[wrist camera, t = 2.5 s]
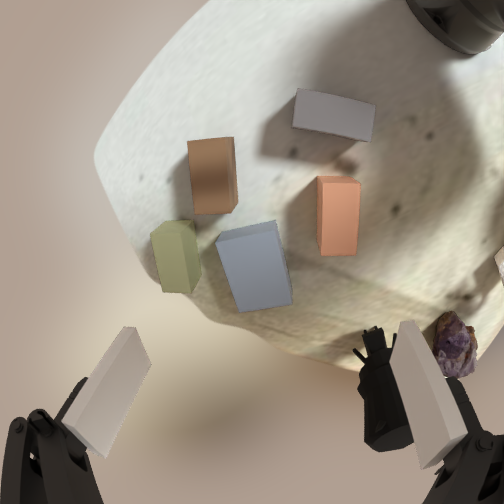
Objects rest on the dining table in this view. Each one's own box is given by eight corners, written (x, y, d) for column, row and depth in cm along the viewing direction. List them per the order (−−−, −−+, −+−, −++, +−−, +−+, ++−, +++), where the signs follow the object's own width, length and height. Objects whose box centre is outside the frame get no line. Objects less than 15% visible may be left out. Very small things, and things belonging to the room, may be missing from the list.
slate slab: (222, 231, 35) (215, 242, 32) (275, 219, 34) (274, 230, 30) (243, 296, 39) (239, 312, 35) (292, 287, 38) (292, 304, 34)
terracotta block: (317, 175, 31) (322, 182, 26) (349, 176, 30) (360, 183, 26) (316, 239, 34) (321, 255, 30) (347, 238, 34) (355, 255, 29)
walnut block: (201, 139, 31) (187, 141, 26) (233, 136, 30) (225, 137, 26) (206, 203, 34) (194, 214, 29) (238, 201, 33) (230, 213, 29)
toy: (390, 297, 36) (440, 407, 18) (397, 339, 39) (434, 439, 21) (338, 317, 38) (360, 436, 20) (352, 356, 41) (370, 462, 23)
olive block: (166, 220, 35) (150, 233, 31) (193, 219, 35) (180, 232, 30) (175, 273, 39) (162, 292, 34) (201, 274, 38) (191, 293, 34)
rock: (453, 296, 36) (411, 335, 40) (475, 321, 28) (425, 366, 32) (476, 333, 37) (438, 366, 40) (495, 358, 29) (451, 395, 32)
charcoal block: (291, 127, 29) (292, 126, 24) (295, 95, 27) (297, 88, 23) (358, 140, 28) (370, 142, 24) (362, 109, 27) (375, 105, 22)
